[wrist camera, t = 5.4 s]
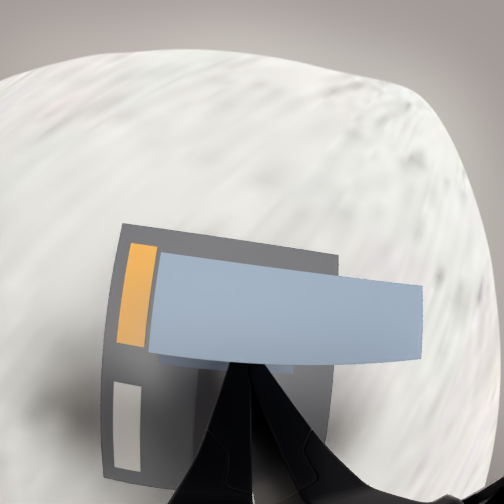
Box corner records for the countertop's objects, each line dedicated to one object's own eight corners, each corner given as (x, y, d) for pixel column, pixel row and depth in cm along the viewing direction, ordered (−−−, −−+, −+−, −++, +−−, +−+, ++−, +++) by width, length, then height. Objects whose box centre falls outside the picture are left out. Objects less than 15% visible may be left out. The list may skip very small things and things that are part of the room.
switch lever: (284, 370, 14) (430, 412, 5) (161, 360, 12) (112, 424, 3) (290, 292, 15) (432, 232, 6) (170, 277, 14) (146, 175, 4)
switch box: (304, 472, 14) (318, 485, 12) (111, 463, 12) (103, 478, 10) (323, 262, 18) (339, 254, 16) (129, 235, 16) (122, 222, 14)
